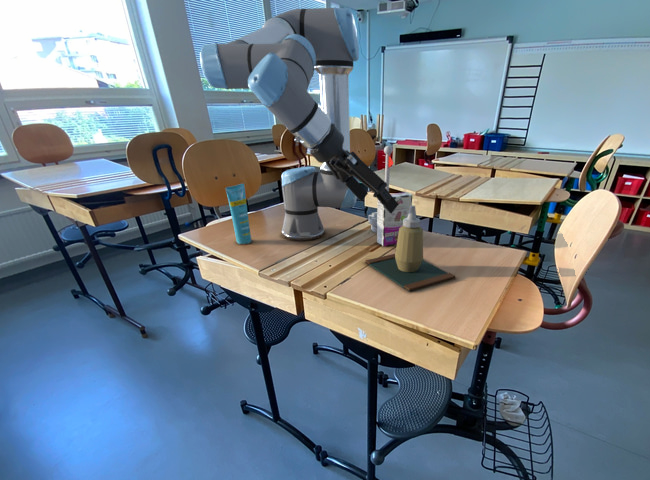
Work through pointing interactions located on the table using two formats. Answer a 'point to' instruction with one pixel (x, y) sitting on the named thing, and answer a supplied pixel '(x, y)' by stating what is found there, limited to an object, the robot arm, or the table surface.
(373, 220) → the flag stand
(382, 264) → the desk pad
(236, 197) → the tube
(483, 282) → the table surface
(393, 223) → the candy bar box
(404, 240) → the squeeze bottle
